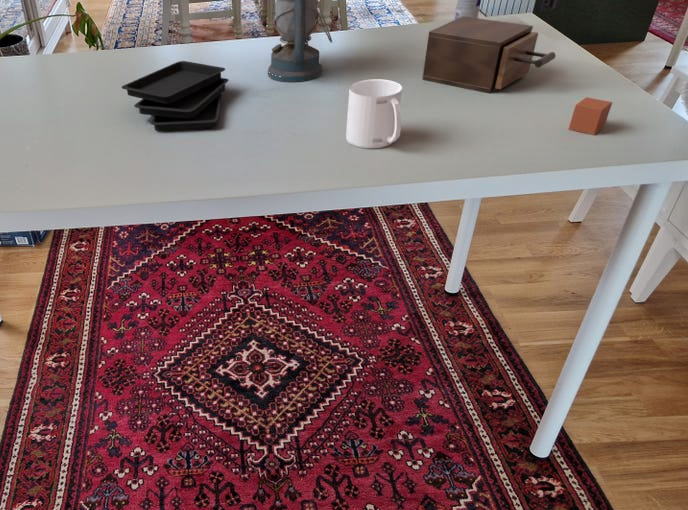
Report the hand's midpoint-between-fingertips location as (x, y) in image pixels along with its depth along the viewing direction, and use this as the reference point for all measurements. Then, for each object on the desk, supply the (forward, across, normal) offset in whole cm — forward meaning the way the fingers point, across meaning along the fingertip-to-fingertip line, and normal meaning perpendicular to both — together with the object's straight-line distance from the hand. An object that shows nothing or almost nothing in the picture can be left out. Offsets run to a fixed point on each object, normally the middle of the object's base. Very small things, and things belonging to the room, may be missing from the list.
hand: (547, 8), depth 123 cm
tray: (+15, -50, +54) cm, 75 cm away
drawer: (+14, 0, +7) cm, 16 cm away
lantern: (+15, -18, +47) cm, 52 cm away
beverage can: (+15, +29, +31) cm, 45 cm away
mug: (+15, -41, +10) cm, 45 cm away
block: (+15, -14, -17) cm, 27 cm away
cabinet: (+15, 0, +13) cm, 20 cm away
